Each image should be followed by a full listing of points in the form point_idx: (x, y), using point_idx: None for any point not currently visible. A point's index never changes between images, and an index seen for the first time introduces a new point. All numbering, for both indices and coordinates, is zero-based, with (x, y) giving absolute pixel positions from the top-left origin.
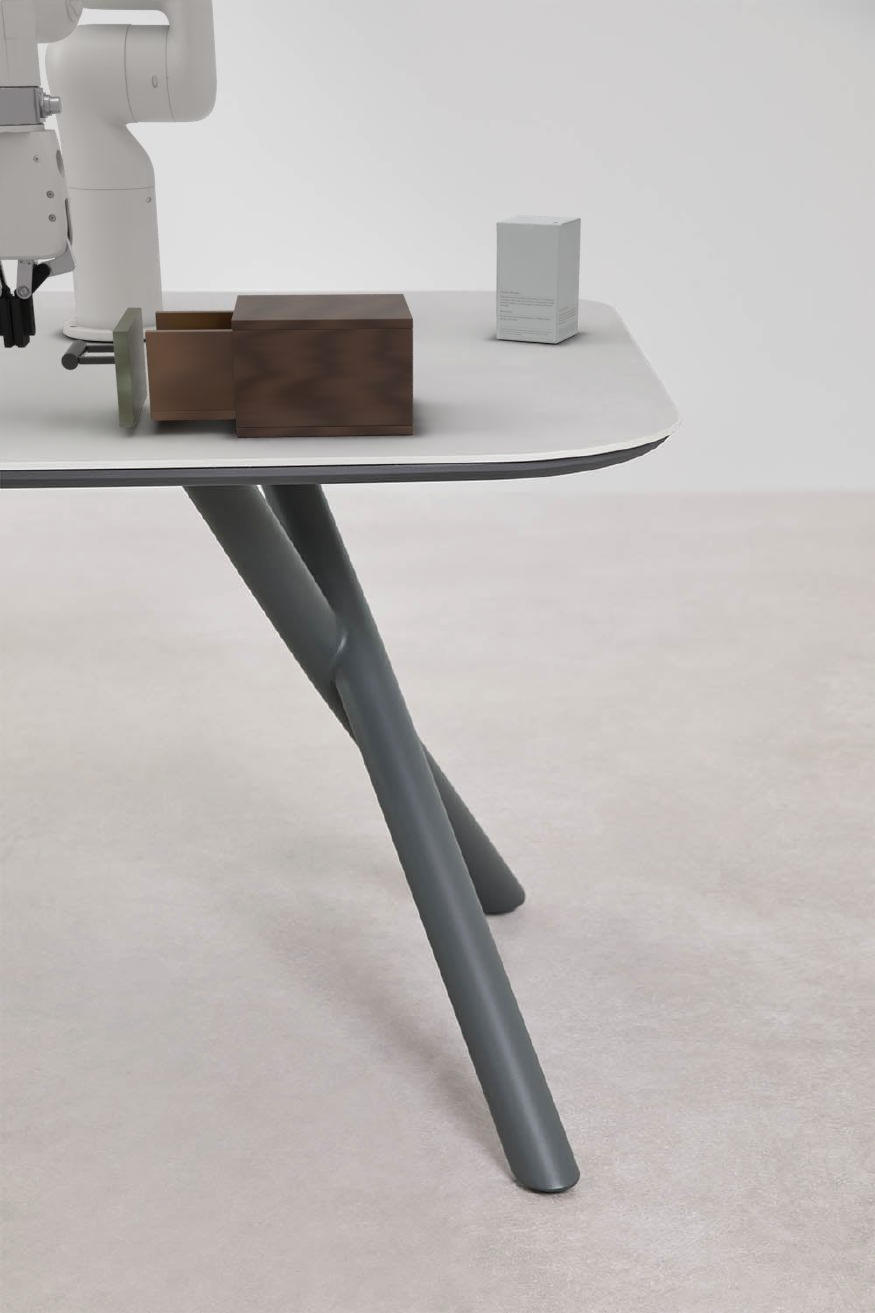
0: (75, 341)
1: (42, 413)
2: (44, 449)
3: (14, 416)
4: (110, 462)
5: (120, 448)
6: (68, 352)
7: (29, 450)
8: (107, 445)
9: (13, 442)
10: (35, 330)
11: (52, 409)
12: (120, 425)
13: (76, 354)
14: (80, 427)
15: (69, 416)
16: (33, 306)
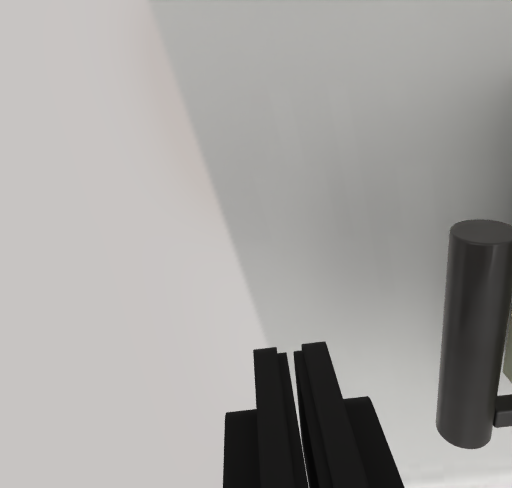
0: (486, 270)
1: (286, 164)
2: None
3: (224, 199)
4: (474, 482)
5: None
6: (472, 439)
7: None
8: None
9: None
10: (367, 398)
11: (302, 117)
12: (504, 373)
13: (492, 425)
14: (401, 287)
15: (361, 191)
16: (400, 481)
